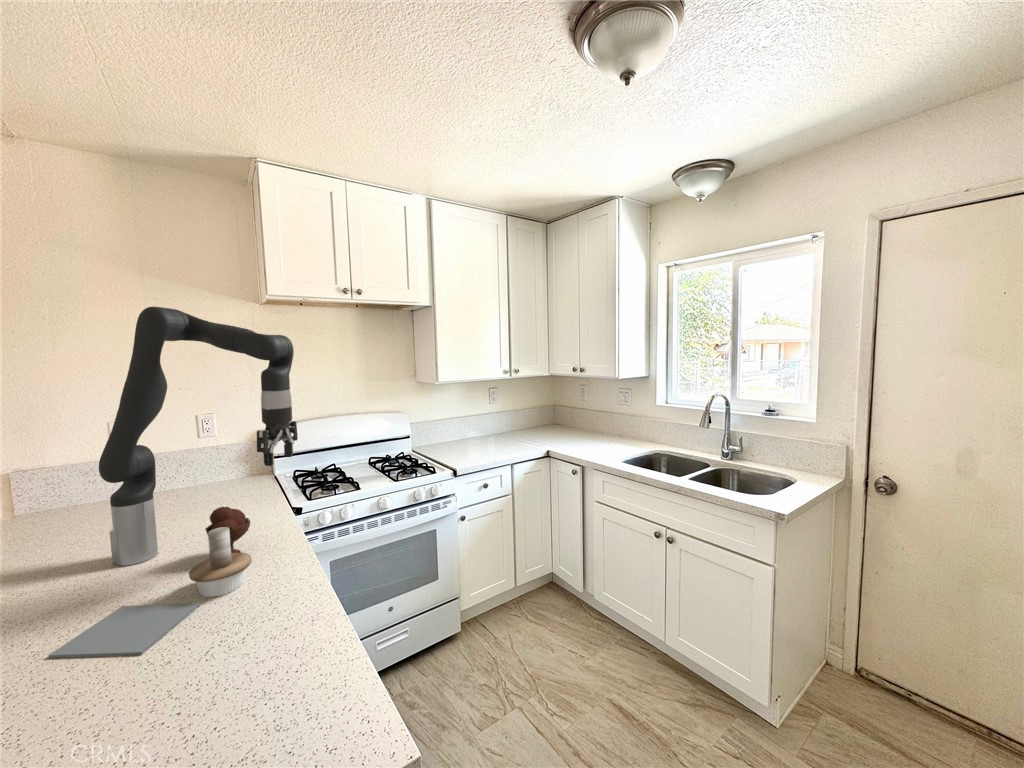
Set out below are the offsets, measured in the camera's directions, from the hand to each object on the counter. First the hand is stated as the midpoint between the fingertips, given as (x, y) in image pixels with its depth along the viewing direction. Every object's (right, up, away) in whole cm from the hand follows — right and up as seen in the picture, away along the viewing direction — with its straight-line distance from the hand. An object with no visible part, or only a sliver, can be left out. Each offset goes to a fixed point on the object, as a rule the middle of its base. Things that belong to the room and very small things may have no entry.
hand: (279, 461), depth 120 cm
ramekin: (-7, -30, -13) cm, 34 cm away
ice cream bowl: (-16, -29, +3) cm, 33 cm away
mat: (-15, -31, -30) cm, 46 cm away
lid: (-7, -25, -14) cm, 29 cm away
